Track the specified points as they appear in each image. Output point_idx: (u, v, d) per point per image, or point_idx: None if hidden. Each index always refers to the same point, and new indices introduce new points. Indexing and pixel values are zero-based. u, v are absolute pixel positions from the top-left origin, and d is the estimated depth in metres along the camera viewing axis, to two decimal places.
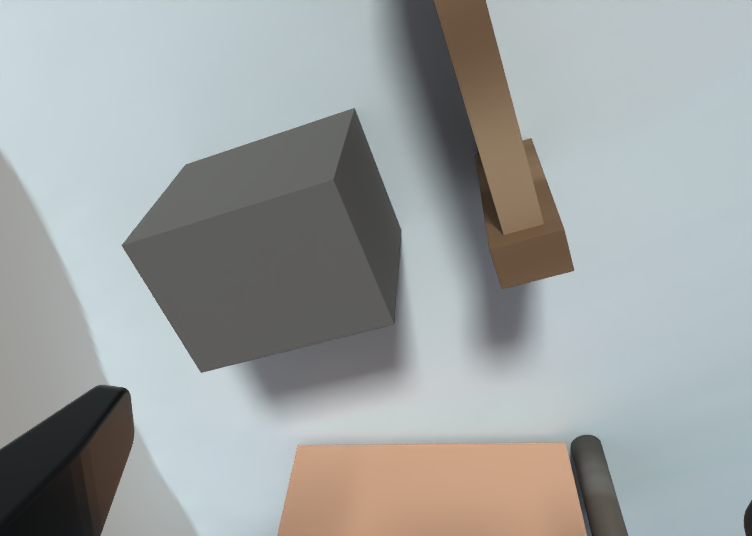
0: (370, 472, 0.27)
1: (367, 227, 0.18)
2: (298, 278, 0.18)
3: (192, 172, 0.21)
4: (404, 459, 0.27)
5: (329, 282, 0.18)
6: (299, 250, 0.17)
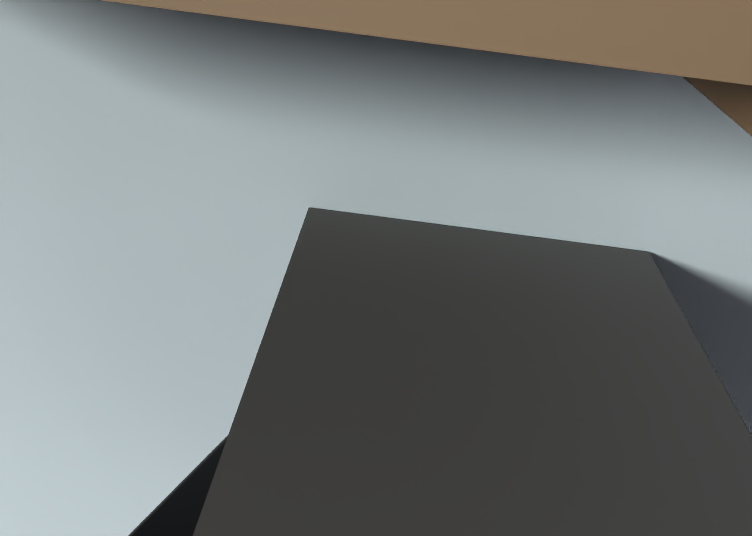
0: None
1: (492, 472, 0.05)
2: None
3: None
4: None
5: None
6: None
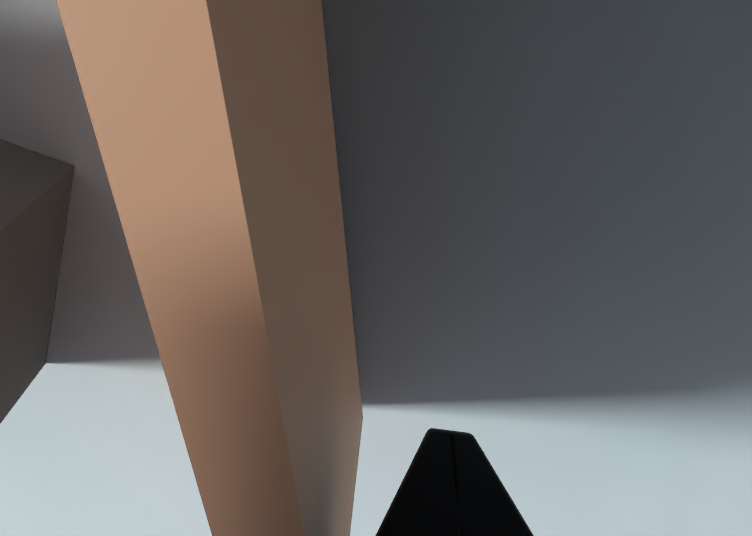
0: None
1: None
2: None
3: None
4: None
5: None
6: None
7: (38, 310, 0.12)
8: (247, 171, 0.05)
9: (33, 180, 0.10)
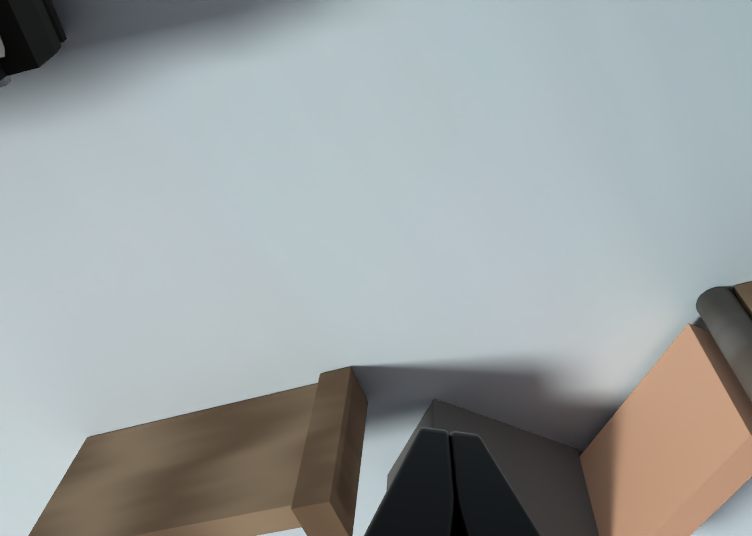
0: None
1: None
2: None
3: None
4: (588, 467, 0.25)
5: None
6: None
7: None
8: (692, 524, 0.20)
9: (574, 463, 0.25)
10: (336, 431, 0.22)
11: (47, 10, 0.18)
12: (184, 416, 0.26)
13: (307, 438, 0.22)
